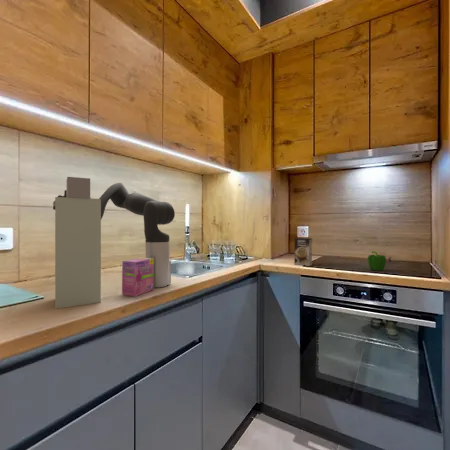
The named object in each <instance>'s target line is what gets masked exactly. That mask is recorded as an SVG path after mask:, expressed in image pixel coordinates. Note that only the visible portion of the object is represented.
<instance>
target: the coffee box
mask: <svg viewBox="0 0 450 450" xmlns="http://www.w3.org/2000/svg"><path fill="white" fill-rule="evenodd" d="M293 265H296V266H304V265H305V266H304V267H307V266H308V267H309V266H312V265H313V238H310V237H308V238H307V237H294V263H293Z"/></svg>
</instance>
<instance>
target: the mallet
mask: <svg viewBox="0 0 450 450" xmlns="http://www.w3.org/2000/svg"><path fill="white" fill-rule="evenodd" d="M65 180H66V184H65V185H66V186H65V187H66V197H67V198H89V199H90V197H91V178H89V177H88V178H87V177H74V176H67V177H66V179H65Z"/></svg>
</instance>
